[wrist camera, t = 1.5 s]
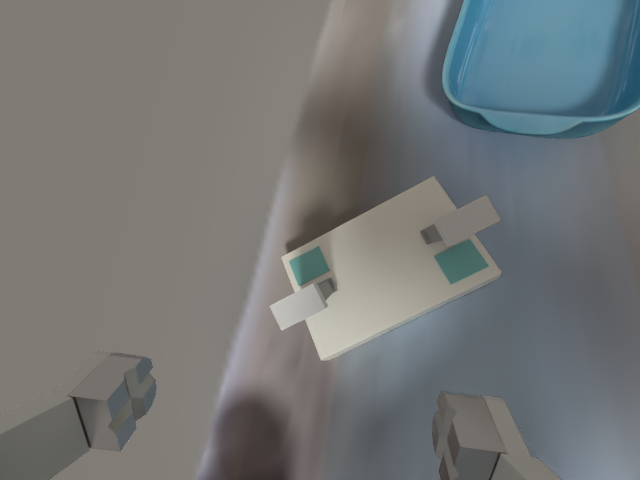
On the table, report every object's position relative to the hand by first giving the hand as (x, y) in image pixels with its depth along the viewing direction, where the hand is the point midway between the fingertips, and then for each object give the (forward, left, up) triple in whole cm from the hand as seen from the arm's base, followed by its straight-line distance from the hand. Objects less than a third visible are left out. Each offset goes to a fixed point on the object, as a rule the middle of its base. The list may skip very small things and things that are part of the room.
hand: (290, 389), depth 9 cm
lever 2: (+10, -13, -28) cm, 33 cm away
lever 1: (+12, +3, -28) cm, 31 cm away
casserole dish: (+26, -40, -33) cm, 58 cm away
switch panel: (+11, -5, -33) cm, 35 cm away
